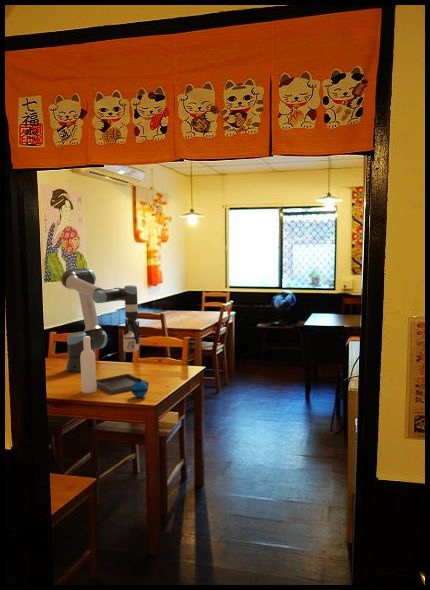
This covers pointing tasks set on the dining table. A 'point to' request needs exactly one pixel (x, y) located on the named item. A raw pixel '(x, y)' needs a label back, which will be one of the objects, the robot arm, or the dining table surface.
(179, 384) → the dining table surface
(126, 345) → the teacup with lid
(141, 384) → the ornament
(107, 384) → the serving tray
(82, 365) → the bottle
